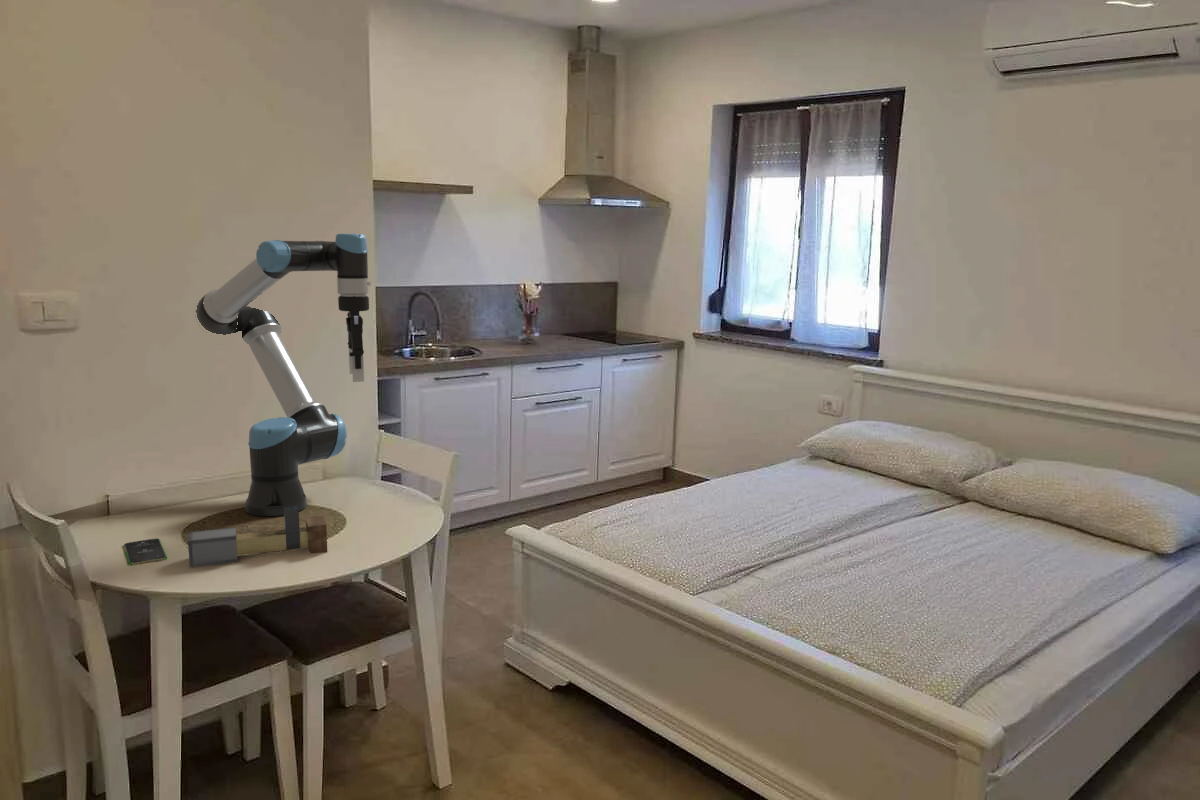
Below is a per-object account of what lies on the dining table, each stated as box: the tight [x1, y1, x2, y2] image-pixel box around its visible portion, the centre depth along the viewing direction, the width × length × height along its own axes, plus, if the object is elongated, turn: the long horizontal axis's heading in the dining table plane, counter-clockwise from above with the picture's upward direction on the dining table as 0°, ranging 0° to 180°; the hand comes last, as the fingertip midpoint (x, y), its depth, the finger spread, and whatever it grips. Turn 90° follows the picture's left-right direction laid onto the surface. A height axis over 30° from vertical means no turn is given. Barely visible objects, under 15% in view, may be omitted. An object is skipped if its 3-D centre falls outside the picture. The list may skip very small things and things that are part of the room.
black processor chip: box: [123, 537, 168, 566], centre depth 194 cm, size 8×1×15 cm
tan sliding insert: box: [236, 505, 309, 556], centre depth 194 cm, size 18×4×9 cm, turn 113°
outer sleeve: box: [187, 527, 238, 569], centre depth 190 cm, size 10×6×6 cm
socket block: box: [305, 515, 328, 555], centre depth 198 cm, size 4×7×6 cm, turn 23°
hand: (356, 377), depth 222 cm, fingers open, 13 cm apart
